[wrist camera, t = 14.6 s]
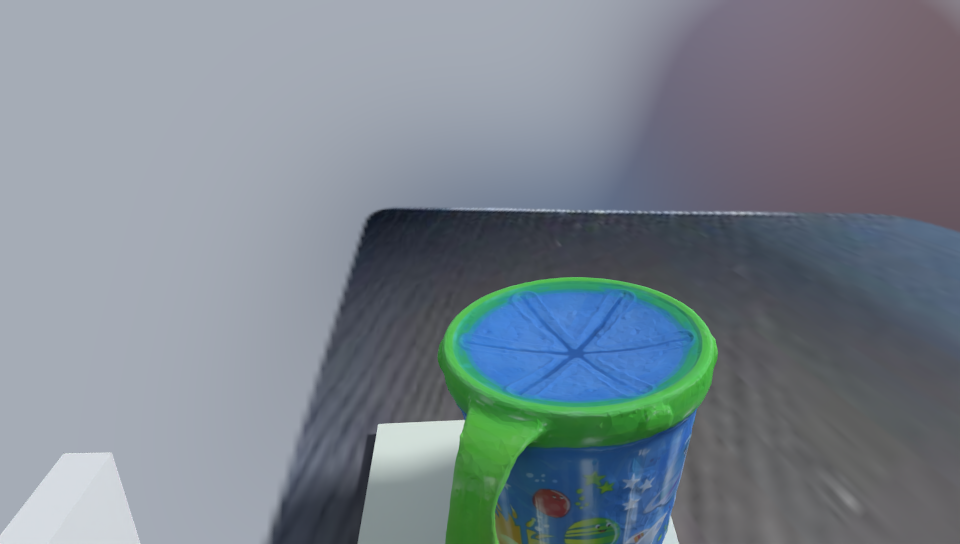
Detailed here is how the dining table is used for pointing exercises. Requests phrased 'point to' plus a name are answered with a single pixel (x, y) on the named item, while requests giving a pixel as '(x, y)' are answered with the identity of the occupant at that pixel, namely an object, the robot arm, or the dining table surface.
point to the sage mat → (416, 484)
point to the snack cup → (572, 411)
